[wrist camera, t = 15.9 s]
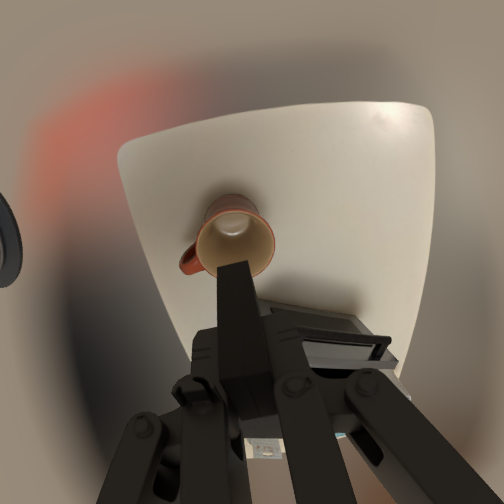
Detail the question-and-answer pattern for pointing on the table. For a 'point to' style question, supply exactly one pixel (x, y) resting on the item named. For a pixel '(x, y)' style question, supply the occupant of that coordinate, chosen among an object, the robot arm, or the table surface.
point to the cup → (395, 381)
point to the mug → (230, 238)
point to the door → (335, 338)
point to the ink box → (265, 447)
